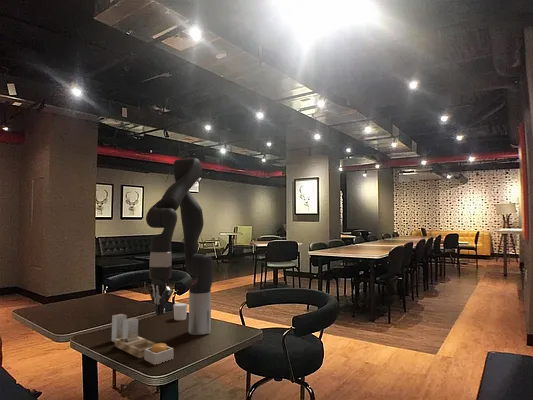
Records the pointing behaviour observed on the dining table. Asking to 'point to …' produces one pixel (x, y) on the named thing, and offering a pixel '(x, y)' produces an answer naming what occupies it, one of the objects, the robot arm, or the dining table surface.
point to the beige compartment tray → (134, 346)
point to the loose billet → (117, 326)
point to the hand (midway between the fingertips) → (159, 314)
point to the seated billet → (130, 330)
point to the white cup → (180, 311)
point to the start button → (159, 347)
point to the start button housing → (158, 355)
